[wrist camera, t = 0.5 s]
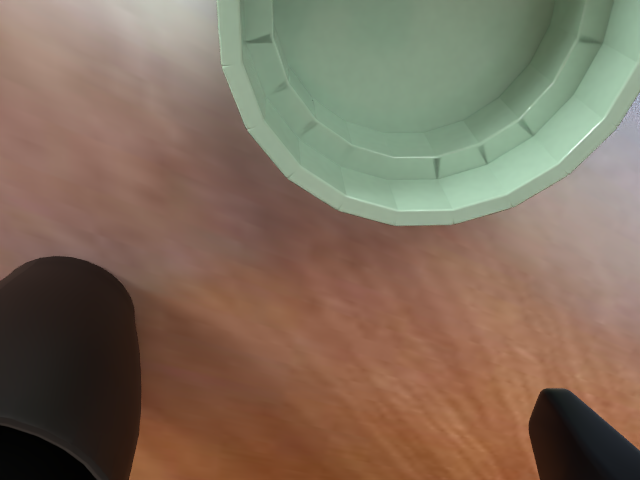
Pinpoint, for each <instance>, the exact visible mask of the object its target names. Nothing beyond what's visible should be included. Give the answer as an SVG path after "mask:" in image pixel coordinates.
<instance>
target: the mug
mask: <svg viewBox="0 0 640 480" xmlns="http://www.w3.org/2000/svg"><path fill="white" fill-rule="evenodd" d="M140 414H141V369H140V353H139V345H138V337H137V332H136V326H135V315H134V306H133V303H132V300H131V297H130V295H129V294H128V292H127V291H126V289H125V288H124V286H123V285H122V284H121V283H120V282H119V281H118V280H117V279H116V278H115V277H114V276H113V275H112V274H110V273H109V272H107V271H106V270H104V269H103V268H101V267H99V266H97V265H95V264H92V263H90V262H88V261H84V260H80V259H76V258H72V257H60V256H53V257H45V258H39V259H36V260H33V261H30V262H27V263H25V264H23V265H22V266H20V267H18V268H17V269H15V270H14V271H13V272H12V273H11V274H9V275H8V276H7V277H6V278H4V279H3V280H1V281H0V480H129V476H130V472H131V467H132V463H133V459H134V454H135V449H136V445H137V440H138V435H139V425H140Z"/></svg>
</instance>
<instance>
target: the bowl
mask: <svg viewBox="0 0 640 480" xmlns="http://www.w3.org/2000/svg"><path fill="white" fill-rule="evenodd" d="M216 2H217V17H218V31H219V45H220V60H221V65H222V70H223V72H224V75H225V77H226V80H227V82H228V85H229V88H230V90H231V93H232V95H233V98H234V100H235V103H236V105H237V108H238V110H239V113H240V115H241V118H242V120H243V123H244V125H245V128H246V129H248V132H249V134H250V135H251V136H252V137H253V139H254V140H255V141H256V142H257V143H258V145H259V146H260V147H261V148H262V149H263V151H264V152H265V153H266V154H267V155H268V157H269V158H270V159H271V160H272V161H273V163H274V164H275V165H276V166H277V167H278V169H279V170H280V171H281V172H282V173H283V175H284V176H285V177H287V178H288V180H290V181H291V182H293V183H295V184H296V185H298V186H299V187H301V188H302V189H304V190H306V191H307V192H309V193H310V194H312V195H313V196H315V197H317V198H318V199H320V200H321V201H323V202H325V203H326V204H328V205H329V206H331V207H332V208H334V209H336V210H338V211H340V212H344V213H347V214H351V215H355V216H359V217H362V218H366V219H370V220H373V221H377V222H381V223H384V224H388V225H392V226H393V225H394V226H432V225H453V224H458V223H462V222H465V221H469V220H472V219H476V218H479V217H483V216H486V215H490V214H493V213H497V212H500V211H503V210H507V209H510V208H512V207H515V206H517V205H519V204H520V203H522V202H524V201H525V200H527V199H529V198H530V197H532V196H534V195H536V194H537V193H539V192H541V191H542V190H544V189H546V188H548V187H549V186H551V185H553V184H554V183H556V182H558V181H560V180H561V179H563V178H565V177H566V176H567V175H569V174H570V173H571V172H572V171H573V170H575V169H576V168H577V167H578V166H579V165H580V164H581V163H582V162H583V161H584V160H585V159H586V158H587V157H588V156H589V155H590V154H591V153H592V152H593V151H594V150H595V149H596V148H597V147H598V146H599V145H600V144H601V143H602V142H603V141H604V140H605V139H606V138H608V137H609V136H610V135H611V134H612V133H613V132H614V131H615V130H616V129H617V126H619V124H620V123H621V121H622V119H623V118H624V116H625V115H626V113H627V111H628V110H629V108H630V107H631V105H632V103H633V102H634V100H635V99H636V97H637V95H638V94H639V92H640V0H216Z"/></svg>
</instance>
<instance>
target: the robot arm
mask: <svg viewBox="0 0 640 480" xmlns="http://www.w3.org/2000/svg"><path fill="white" fill-rule="evenodd" d="M529 435H530V439H531V444H532V448H533V452H534V456H535V460H536V465H537V469H538V473H539V477H540V480H640V451H639V450H638V449H637V448H636V447H635V446H634V445H632V444H631V443H630V442H629V441H628V440H627V439H626V438H624V437H623V436H622V435H621V434H620V433H619V432H617V431H616V430H615V429H614V428H613V427H612V426H610V425H609V424H608V423H607V422H606V421H605V420H603V419H602V418H601V417H600V416H599V415H598V414H596V413H595V412H594V411H593V410H592V409H591V408H589V407H588V406H587V405H586V404H585V403H584V402H583V401H581V400H580V399H579V398H578V397H577V396H576V395H574V394H573V393H572V392H571V391H569V390H567V389H563V388H546V389H543V390H542V391H541V392H540V394H539V396H538V399H537V401H536V404H535V407H534V409H533V412H532V415H531V417H530V420H529Z"/></svg>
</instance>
